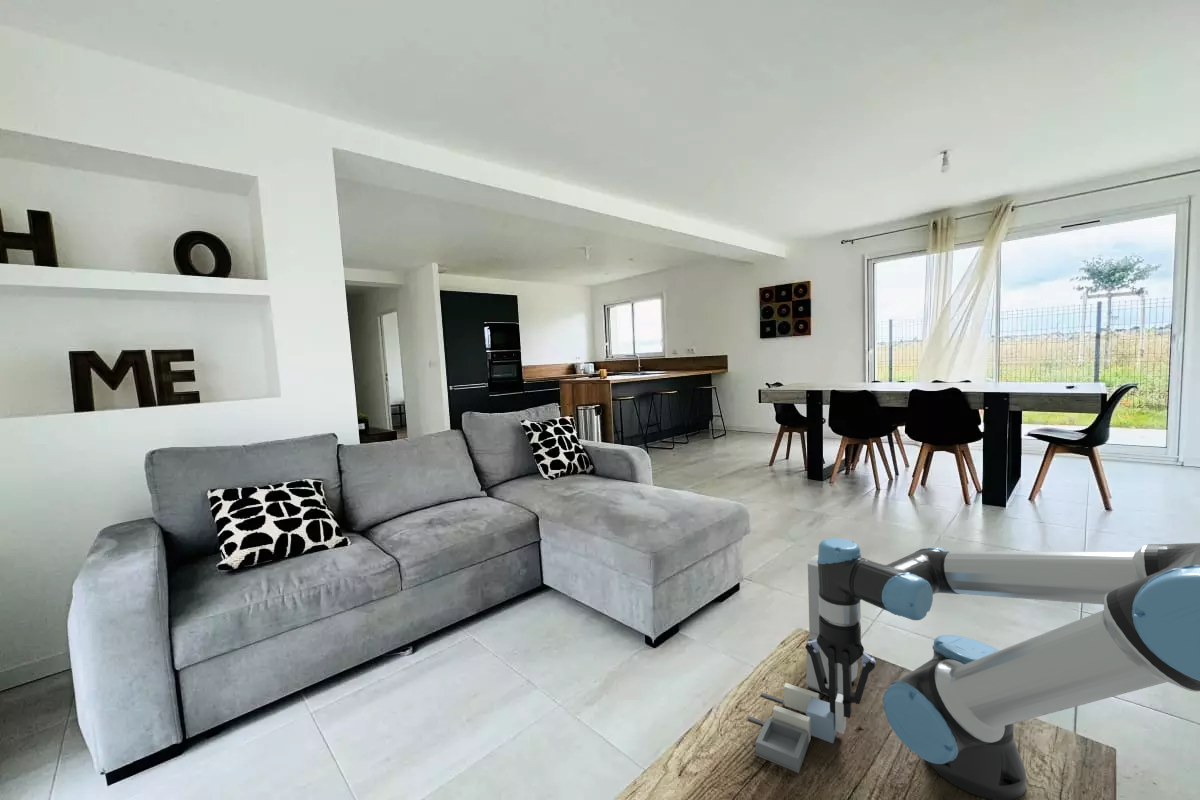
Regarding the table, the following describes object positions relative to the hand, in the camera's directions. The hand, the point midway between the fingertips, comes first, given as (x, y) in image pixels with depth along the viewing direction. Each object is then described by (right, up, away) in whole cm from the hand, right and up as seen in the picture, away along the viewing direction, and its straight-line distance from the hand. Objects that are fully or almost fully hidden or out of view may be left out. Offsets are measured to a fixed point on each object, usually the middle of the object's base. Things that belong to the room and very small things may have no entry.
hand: (840, 728), depth 99 cm
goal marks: (-12, -2, +9) cm, 15 cm away
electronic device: (+6, -1, +16) cm, 18 cm away
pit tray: (-13, -3, -3) cm, 13 cm away
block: (-3, -2, +2) cm, 4 cm away
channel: (-7, -2, +5) cm, 9 cm away
